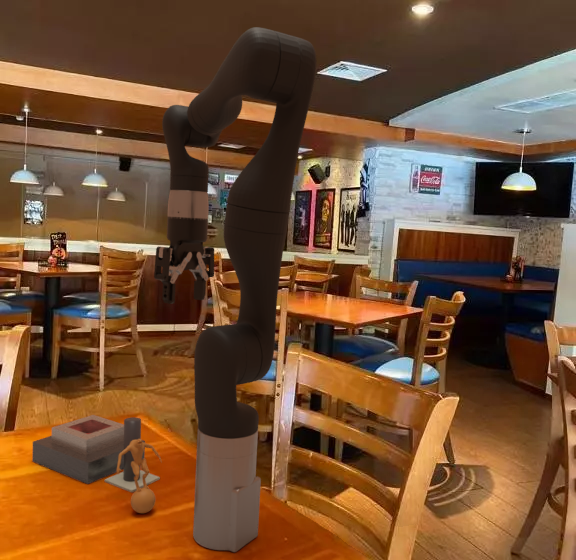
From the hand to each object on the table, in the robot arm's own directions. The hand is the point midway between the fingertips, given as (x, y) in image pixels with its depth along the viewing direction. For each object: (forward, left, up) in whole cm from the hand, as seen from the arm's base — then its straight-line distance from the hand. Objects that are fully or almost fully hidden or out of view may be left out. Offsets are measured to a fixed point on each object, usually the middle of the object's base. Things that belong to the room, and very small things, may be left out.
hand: (184, 301), depth 112 cm
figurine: (-6, +16, -33) cm, 37 cm away
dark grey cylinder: (+3, +9, -33) cm, 34 cm away
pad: (+3, +9, -33) cm, 34 cm away
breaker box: (+16, +8, -33) cm, 38 cm away
